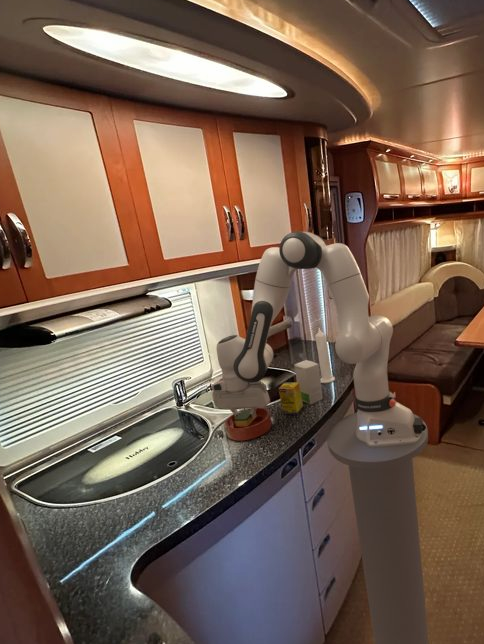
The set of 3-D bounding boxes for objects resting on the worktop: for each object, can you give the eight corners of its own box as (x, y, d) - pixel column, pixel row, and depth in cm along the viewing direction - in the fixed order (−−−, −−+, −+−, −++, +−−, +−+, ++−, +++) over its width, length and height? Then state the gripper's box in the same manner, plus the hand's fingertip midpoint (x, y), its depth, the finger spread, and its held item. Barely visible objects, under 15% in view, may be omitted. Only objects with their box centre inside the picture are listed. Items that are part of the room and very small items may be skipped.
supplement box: (283, 414, 142) (278, 388, 138) (289, 407, 147) (284, 381, 144) (297, 415, 140) (292, 388, 137) (303, 407, 145) (299, 381, 142)
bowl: (278, 419, 138) (276, 407, 137) (260, 442, 124) (257, 429, 123) (241, 419, 142) (239, 407, 141) (219, 441, 128) (216, 428, 126)
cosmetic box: (299, 400, 153) (292, 364, 148) (311, 394, 157) (305, 359, 152) (311, 405, 147) (305, 368, 142) (324, 398, 151) (318, 362, 146)
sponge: (256, 416, 136) (255, 409, 135) (247, 426, 130) (245, 418, 129) (245, 416, 137) (244, 409, 136) (236, 426, 131) (234, 419, 130)
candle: (337, 380, 168) (329, 326, 161) (323, 385, 165) (314, 330, 157) (330, 376, 174) (323, 324, 167) (317, 380, 171) (308, 328, 163)
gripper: (268, 377, 129) (276, 412, 133) (216, 379, 134) (225, 413, 138) (260, 384, 124) (268, 421, 128) (206, 386, 128) (215, 422, 132)
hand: (245, 417), depth 133 cm, fingers closed on sponge, 4 cm apart
